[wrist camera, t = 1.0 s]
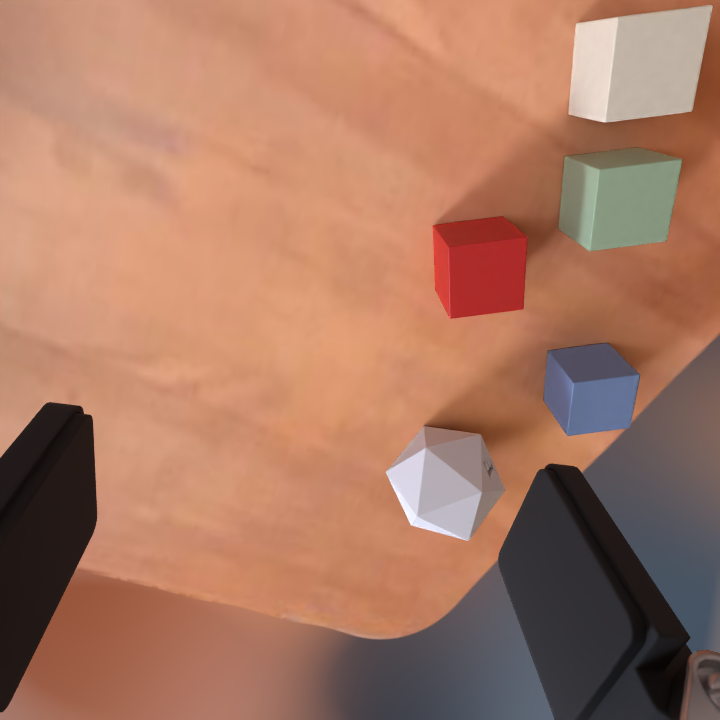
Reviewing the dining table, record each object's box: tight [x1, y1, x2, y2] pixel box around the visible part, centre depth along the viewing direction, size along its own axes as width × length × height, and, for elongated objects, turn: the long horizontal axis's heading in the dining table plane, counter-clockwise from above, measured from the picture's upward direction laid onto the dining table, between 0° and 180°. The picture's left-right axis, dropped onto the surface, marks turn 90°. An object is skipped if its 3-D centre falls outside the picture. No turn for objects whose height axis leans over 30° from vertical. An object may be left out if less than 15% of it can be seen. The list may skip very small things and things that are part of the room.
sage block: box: [558, 147, 683, 251], centre depth 34 cm, size 5×5×5 cm
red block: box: [433, 216, 527, 319], centre depth 35 cm, size 5×5×5 cm
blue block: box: [543, 343, 640, 436], centre depth 41 cm, size 5×5×5 cm
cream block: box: [568, 5, 713, 123], centre depth 30 cm, size 5×5×5 cm
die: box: [386, 426, 505, 541], centre depth 43 cm, size 8×9×10 cm
